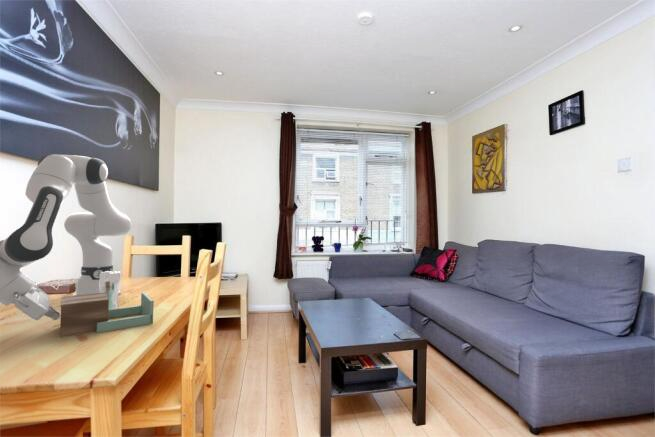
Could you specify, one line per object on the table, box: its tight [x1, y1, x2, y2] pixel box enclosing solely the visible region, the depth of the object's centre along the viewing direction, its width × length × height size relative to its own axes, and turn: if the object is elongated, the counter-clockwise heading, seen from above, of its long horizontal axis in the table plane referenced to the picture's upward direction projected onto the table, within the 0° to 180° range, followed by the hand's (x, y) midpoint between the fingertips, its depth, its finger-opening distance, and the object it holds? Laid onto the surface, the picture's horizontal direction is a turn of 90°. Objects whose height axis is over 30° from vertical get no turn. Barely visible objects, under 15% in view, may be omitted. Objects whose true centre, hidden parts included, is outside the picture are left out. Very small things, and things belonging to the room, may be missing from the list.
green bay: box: [96, 291, 154, 334], centre depth 111 cm, size 16×16×8 cm
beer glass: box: [99, 270, 121, 310], centre depth 124 cm, size 7×7×15 cm
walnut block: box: [59, 292, 109, 338], centre depth 103 cm, size 12×12×10 cm
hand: (57, 317), depth 99 cm, fingers closed
